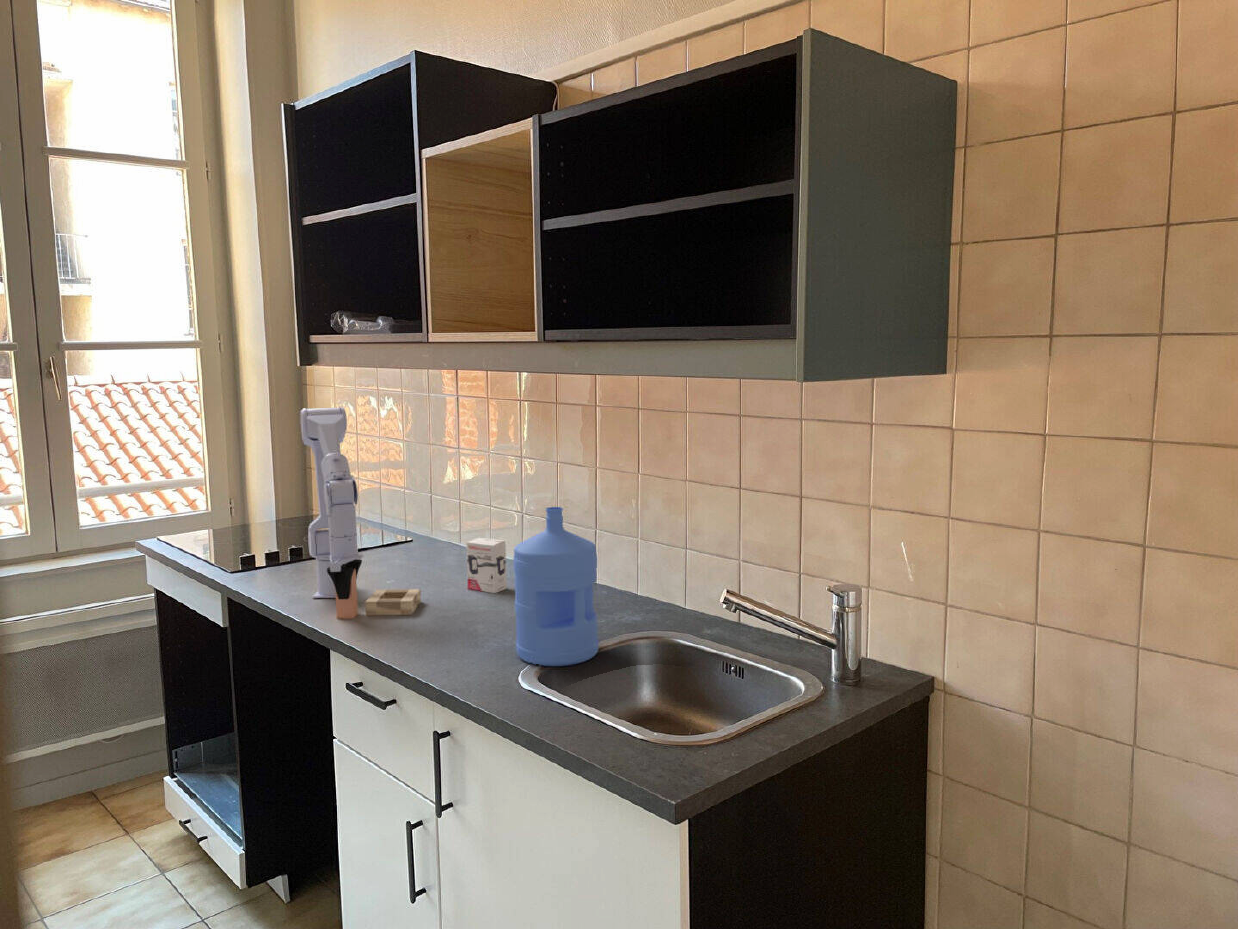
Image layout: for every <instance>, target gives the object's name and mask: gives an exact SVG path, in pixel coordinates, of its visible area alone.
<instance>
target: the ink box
mask: <svg viewBox="0 0 1238 929" xmlns="http://www.w3.org/2000/svg"><path fill="white" fill-rule="evenodd" d="M506 550H507V549H506V541H505V540H503V539H502V540H501V539H496V538H495V539H493V538H486V537H484V538H483V537H477V538H473V539H472V540H471V539H470V540H468V541H467V542H466V564H467V566H466V568H467V569H466V570H467V575H466V577H467V589H468V590H473V591H479V592H480V591H481V592H485V593H486V592H487V593H493V594H497V593H499V592H501V591H504V590H507V589H508V587H507V586H508V583H507V558H506V557H507V556H506V555H507V553H506Z"/></svg>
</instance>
